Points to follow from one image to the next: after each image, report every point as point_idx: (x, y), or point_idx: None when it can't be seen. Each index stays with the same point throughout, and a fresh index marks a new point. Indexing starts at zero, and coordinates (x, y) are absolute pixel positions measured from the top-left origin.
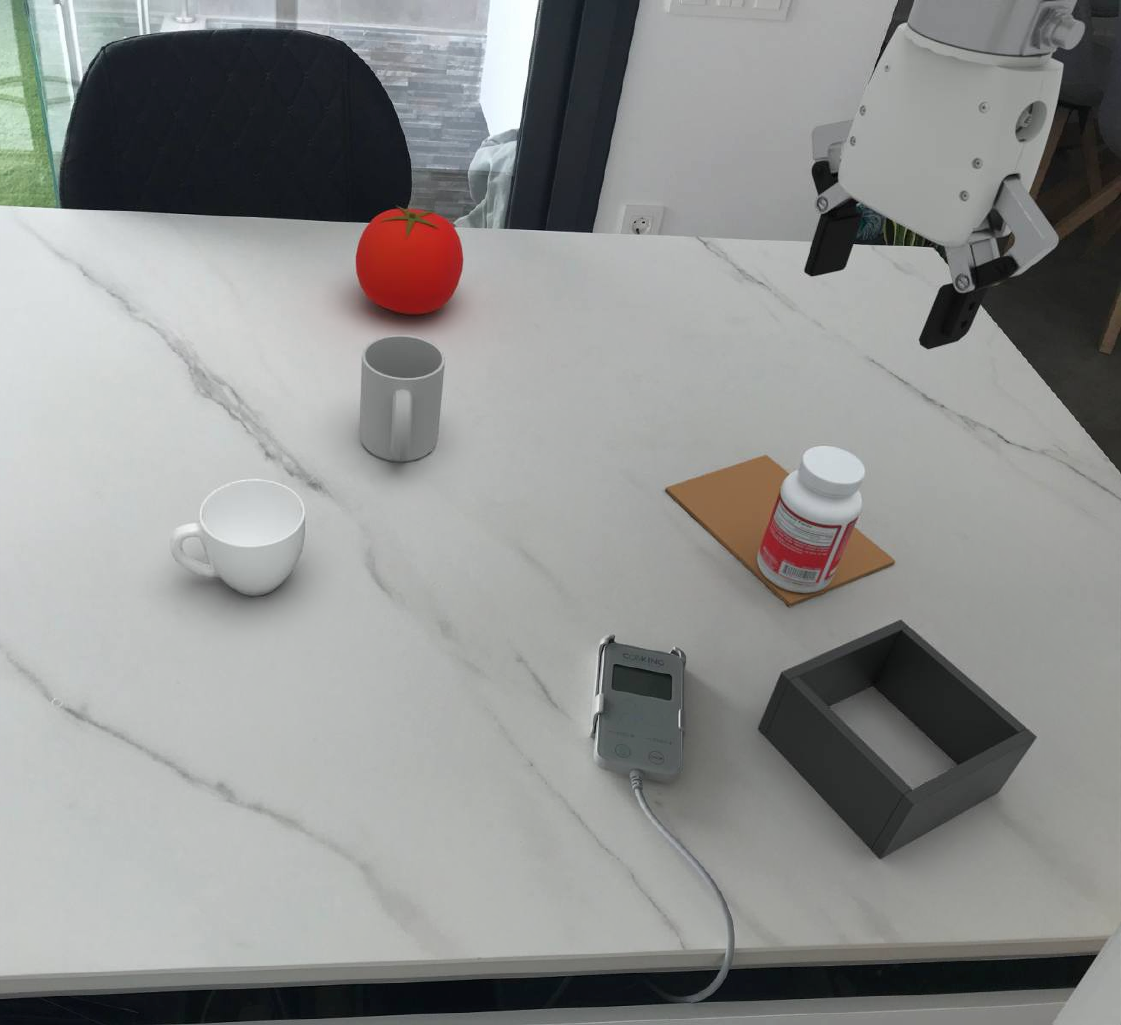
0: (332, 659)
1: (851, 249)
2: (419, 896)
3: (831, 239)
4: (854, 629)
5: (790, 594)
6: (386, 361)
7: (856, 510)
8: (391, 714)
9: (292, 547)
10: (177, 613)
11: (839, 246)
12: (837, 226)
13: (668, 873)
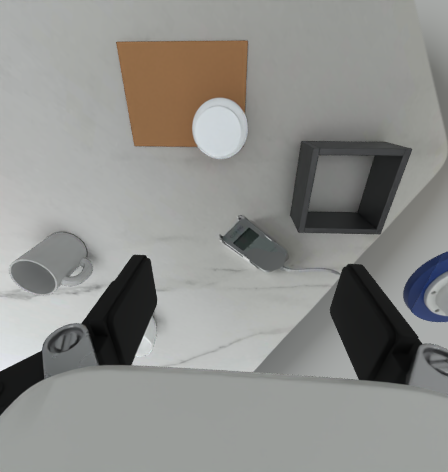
0: (189, 314)
1: (137, 274)
2: (275, 327)
3: (137, 333)
4: (274, 123)
5: None
6: (24, 267)
7: (246, 123)
8: (217, 310)
9: (151, 334)
10: None
11: (139, 305)
12: (128, 349)
13: (313, 277)
